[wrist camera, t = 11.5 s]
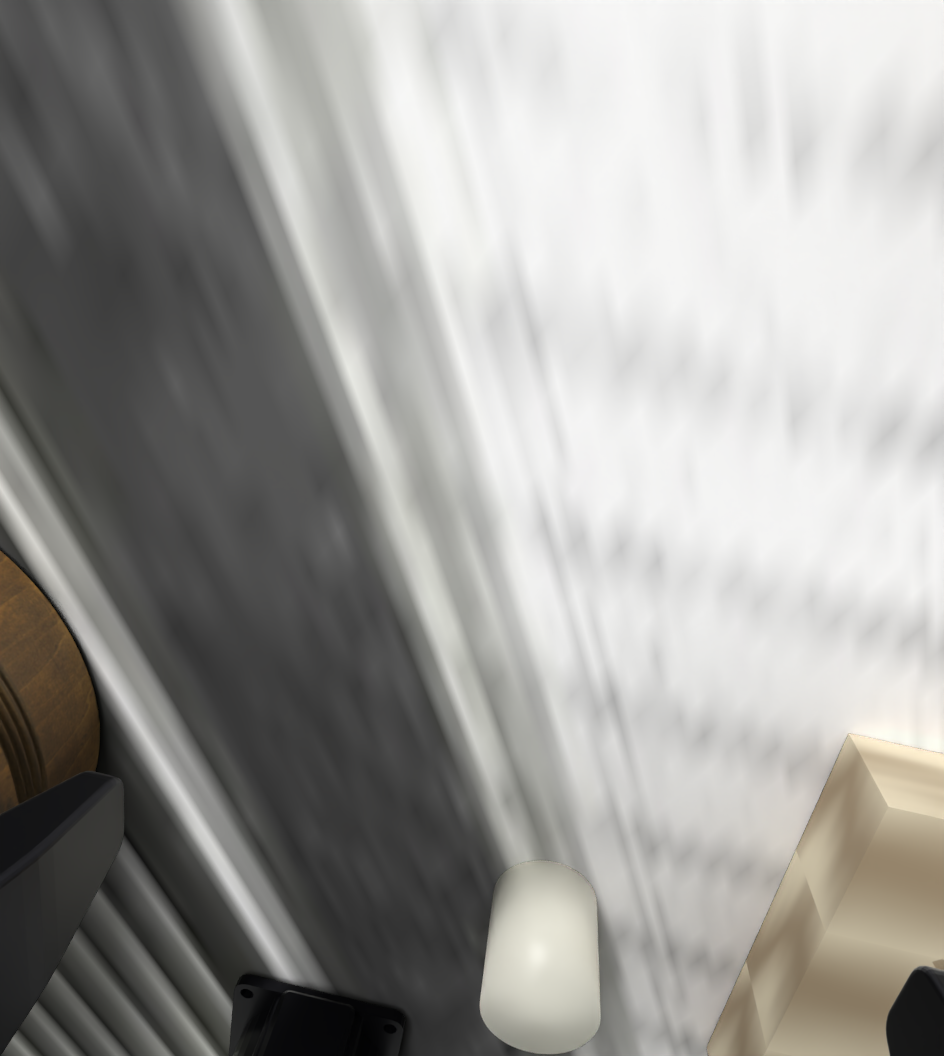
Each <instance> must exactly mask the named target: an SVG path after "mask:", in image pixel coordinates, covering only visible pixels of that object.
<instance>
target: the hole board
mask: <svg viewBox="0 0 944 1056" xmlns="http://www.w3.org/2000/svg"><path fill="white" fill-rule="evenodd" d="M919 966H929V967H933V968H937V969H942V970H944V754H940V753H936V752H931V751H927V750H922V749H918V748H913V747H909V746H904V745H899V744H895V743H890V742H886V741H881V740H877V739H872V738H868V737H863V736H859V735H854V734H850V733H849V734H848V736H847V738H846V741H845V743H844V745H843V747H842V749H841V752H840V754H839V756H838V758H837V760H836V763H835V765H834V767H833V769H832V771H831V774H830V776H829V778H828V780H827V782H826V785H825V787H824V789H823V791H822V794H821V796H820V798H819V800H818V802H817V805H816V807H815V809H814V811H813V813H812V816H811V818H810V820H809V822H808V824H807V827H806V829H805V831H804V833H803V836H802V838H801V840H800V842H799V844H798V847H797V849H796V851H795V853H794V855H793V858H792V860H791V862H790V864H789V866H788V869H787V871H786V873H785V875H784V877H783V880H782V882H781V884H780V886H779V889H778V891H777V893H776V895H775V897H774V900H773V902H772V904H771V906H770V908H769V911H768V913H767V915H766V917H765V919H764V922H763V924H762V926H761V928H760V930H759V933H758V935H757V937H756V939H755V942H754V944H753V946H752V948H751V950H750V953H749V955H748V957H747V959H746V961H745V964H744V966H743V968H742V970H741V972H740V975H739V977H738V979H737V981H736V984H735V986H734V988H733V990H732V992H731V995H730V997H729V999H728V1001H727V1003H726V1006H725V1008H724V1010H723V1012H722V1014H721V1017H720V1019H719V1021H718V1023H717V1025H716V1028H715V1030H714V1032H713V1034H712V1037H711V1039H710V1041H709V1043H708V1045H707V1051H708V1056H890V1054H889V1049H888V1044H887V1038H886V1020H887V1016H888V1012H889V1010H890V1008H891V1007H892V1005H893V1003H894V1001H895V1000H896V998H897V996H898V995H899V993H900V991H901V989H902V988H903V986H904V984H905V982H906V981H907V979H908V977H909V975H910V974H911V972H912V971H913V970H914V969H915V968H917V967H919Z"/></svg>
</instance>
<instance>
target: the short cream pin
mask: <svg viewBox="0 0 944 1056" xmlns="http://www.w3.org/2000/svg"><path fill="white" fill-rule="evenodd" d="M480 1013H481V1016H482V1019H483V1021H484V1023H485V1024H486V1026H487V1027H488V1029H489V1030H490V1031H491V1032H492V1033H493V1034H494V1035H495V1036H496V1037H498V1038H499V1039H500V1040H502V1041H503V1042H505V1043H507V1044H509V1045H511V1046H513V1047H515V1048H518V1049H520V1050H524V1051H527V1052H532V1053H538V1054H559V1053H565V1052H569V1051H572V1050H575V1049H577V1048H579V1047H581V1046H583V1045H585V1044H586V1043H587V1042H589V1041H590V1040H591V1039H592V1038H593V1037H594V1035H595V1034H596V1032H597V1030H598V1028H599V1025H600V1018H601V1013H600V982H599V951H598V920H597V899H596V895H595V891H594V889H593V887H592V886H591V884H590V883H589V882H588V880H587V879H586V878H585V877H584V876H583V875H581V874H580V873H579V872H577V871H576V870H574V869H572V868H570V867H568V866H566V865H563V864H560V863H557V862H552V861H543V860H536V861H528V862H523V863H520V864H517V865H515V866H513V867H511V868H509V869H508V870H507V871H505V872H504V873H503V874H502V875H501V876H500V877H499V879H498V880H497V882H496V884H495V887H494V891H493V899H492V907H491V915H490V923H489V932H488V940H487V948H486V956H485V964H484V972H483V981H482V989H481V997H480Z"/></svg>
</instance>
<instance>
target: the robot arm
mask: <svg viewBox="0 0 944 1056" xmlns="http://www.w3.org/2000/svg"><path fill="white" fill-rule="evenodd" d="M123 836H124V785H123V782H122V780H121V779H120V778H118V777H116V776H111V775H107V774H103V773H99V772H94V771H85V772H82V773H79V774H77V775H75V776H73V777H71V778H69V779H68V780H66V781H64V782H62V783H60V784H58V785H56V786H54V787H52V788H50V789H48V790H46V791H44V792H42V793H40V794H38V795H36V796H34V797H32V798H30V799H28V800H26V801H24V802H23V803H21V804H19V805H17V806H15V807H13V808H11V809H9V810H7V811H5V812H3V813H1V814H0V1055H1V1054H2V1052H3V1051H4V1049H5V1048H6V1046H7V1045H8V1043H9V1042H10V1040H11V1039H12V1037H13V1036H14V1034H15V1033H16V1031H17V1030H18V1028H19V1027H20V1025H21V1024H22V1022H23V1021H24V1019H25V1018H26V1016H27V1015H28V1013H29V1012H30V1010H31V1009H32V1007H33V1006H34V1004H35V1003H36V1001H37V999H38V998H39V996H40V995H41V993H42V991H43V990H44V988H45V987H46V985H47V983H48V982H49V980H50V978H51V976H52V974H53V973H54V971H55V969H56V967H57V966H58V964H59V962H60V960H61V958H62V956H63V955H64V953H65V951H66V949H67V947H68V945H69V943H70V941H71V940H72V938H73V936H74V934H75V932H76V930H77V928H78V927H79V925H80V923H81V921H82V919H83V917H84V915H85V913H86V912H87V910H88V908H89V906H90V904H91V902H92V900H93V898H94V897H95V895H96V893H97V891H98V889H99V887H100V885H101V884H102V882H103V880H104V878H105V876H106V874H107V872H108V870H109V869H110V867H111V865H112V863H113V861H114V859H115V857H116V856H117V853H118V851H119V849H120V846H121V844H122V840H123ZM404 1026H405V1017H404V1016H403V1014H401V1013H400V1012H399V1011H396V1010H393V1009H389V1008H385V1007H381V1006H377V1005H373V1004H369V1003H365V1002H361V1001H357V1000H352V999H348V998H344V997H340V996H336V995H332V994H328V993H324V992H320V991H316V990H312V989H308V988H303V987H299V986H295V985H291V984H287V983H283V982H279V981H275V980H271V979H267V978H263V977H259V976H255V975H248V974H246V975H242V976H241V977H240V978H239V980H238V982H237V985H236V987H235V989H234V998H233V1010H232V1023H231V1036H230V1048H229V1056H398V1054H399V1050H400V1045H401V1040H402V1035H403V1031H404ZM886 1038H887V1044H888V1049H889V1054H890V1056H944V970H942V969H937V968H933V967H929V966H919V967H917V968H915V969H914V970H913V971H912V972H911V974H910V975H909V977H908V979H907V981H906V982H905V984H904V986H903V988H902V989H901V991H900V993H899V995H898V996H897V998H896V1000H895V1001H894V1003H893V1005H892V1007H891V1008H890V1010H889V1012H888V1016H887V1020H886Z"/></svg>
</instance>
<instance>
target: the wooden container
mask: <svg viewBox="0 0 944 1056" xmlns="http://www.w3.org/2000/svg"><path fill="white" fill-rule="evenodd" d="M99 745H100V722H99V715H98V706H97V700H96V696H95V692H94V688H93V685H92V682H91V679H90V676H89V673H88V670H87V668H86V665H85V663H84V660H83V658H82V656H81V654H80V652H79V650H78V648H77V646H76V644H75V642H74V640H73V638H72V636H71V634H70V633H69V631H68V629H67V628H66V626H65V624H64V623H63V621H62V620H61V618H60V617H59V615H58V614H57V612H56V611H55V609H54V608H53V607H52V605H51V604H50V603H49V601H48V600H47V599H46V597H45V596H44V595H43V594H42V592H41V591H40V590H39V589H38V588H37V587H36V585H35V584H34V583H33V582H32V581H31V580H30V579H29V578H28V577H27V575H26V574H25V573H24V572H23V571H22V570H21V569H20V568H19V567H18V566H17V565H16V564H14V563H13V562H12V561H11V560H10V559H9V558H8V557H7V556H6V555H5V554H4V553H2V552H1V551H0V814H1V813H3V812H5V811H7V810H9V809H11V808H13V807H15V806H17V805H19V804H21V803H23V802H24V801H26V800H28V799H30V798H32V797H34V796H36V795H38V794H40V793H42V792H44V791H46V790H48V789H50V788H52V787H54V786H56V785H58V784H60V783H62V782H64V781H66V780H68V779H69V778H71V777H73V776H75V775H77V774H79V773H82V772H85V771H94V772H95V770H96V766H97V762H98V755H99Z"/></svg>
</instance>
